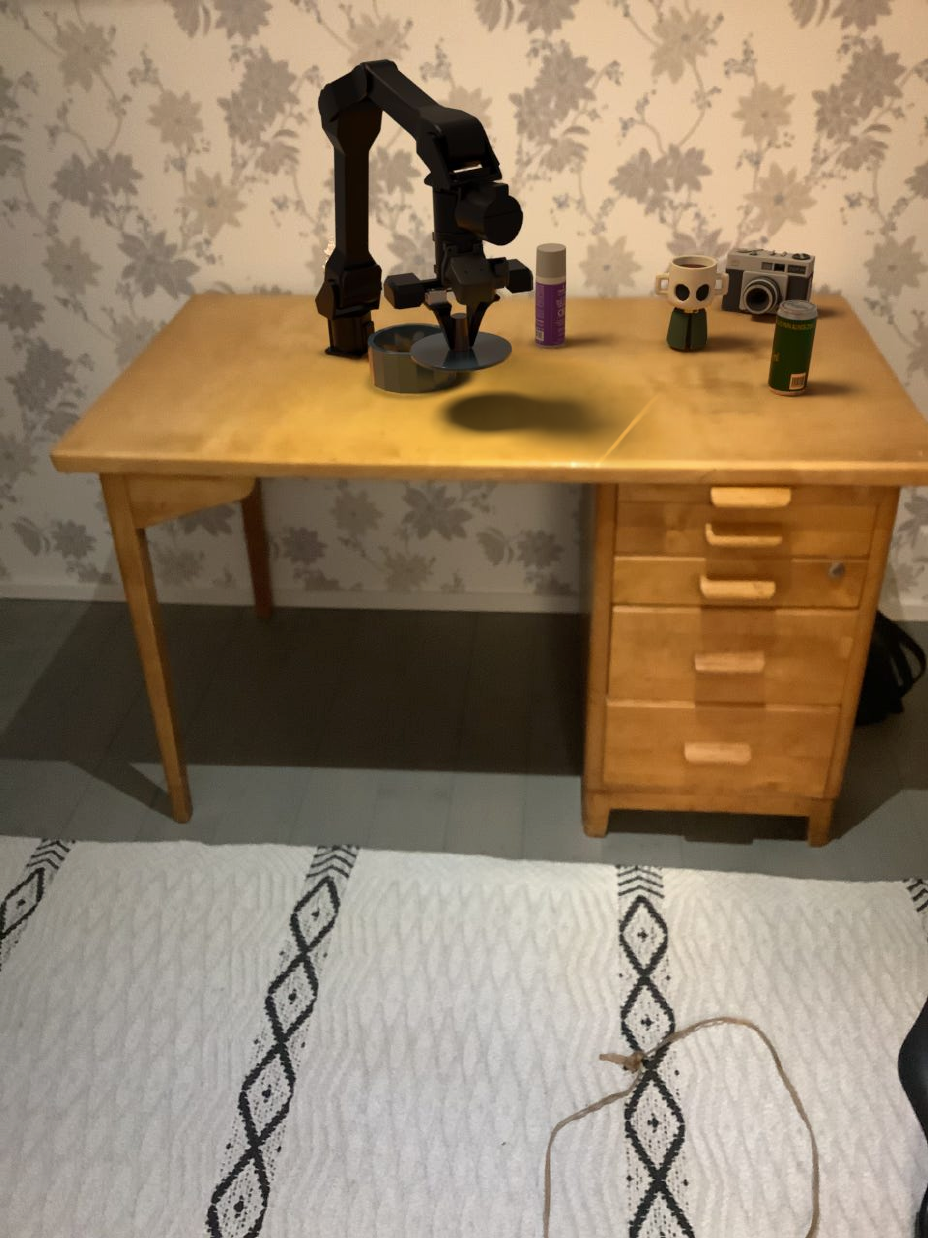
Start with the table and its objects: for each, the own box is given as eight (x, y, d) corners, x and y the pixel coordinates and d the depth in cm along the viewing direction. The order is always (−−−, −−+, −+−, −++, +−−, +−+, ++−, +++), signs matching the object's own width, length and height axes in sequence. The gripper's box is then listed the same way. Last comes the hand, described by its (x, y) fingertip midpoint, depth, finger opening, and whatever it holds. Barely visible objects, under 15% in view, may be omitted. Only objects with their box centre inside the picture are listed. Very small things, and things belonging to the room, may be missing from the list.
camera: (708, 314, 180) (716, 252, 175) (731, 300, 186) (739, 240, 181) (789, 329, 173) (800, 265, 168) (810, 314, 180) (820, 252, 174)
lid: (392, 367, 143) (389, 325, 140) (439, 332, 153) (437, 293, 150) (485, 382, 138) (484, 340, 135) (528, 345, 148) (528, 305, 145)
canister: (355, 389, 160) (351, 347, 156) (397, 359, 169) (395, 318, 165) (431, 402, 155) (429, 359, 151) (470, 370, 164) (469, 329, 160)
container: (562, 349, 170) (564, 252, 161) (533, 348, 171) (533, 251, 162) (566, 338, 173) (568, 242, 165) (537, 337, 174) (538, 242, 166)
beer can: (814, 391, 153) (827, 307, 147) (783, 399, 152) (795, 315, 145) (789, 378, 157) (801, 296, 151) (759, 386, 156) (769, 303, 149)
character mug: (651, 353, 167) (657, 268, 160) (650, 337, 173) (655, 254, 166) (723, 354, 166) (733, 268, 159) (720, 337, 172) (728, 254, 164)
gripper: (402, 254, 128) (410, 380, 137) (550, 235, 132) (548, 358, 141) (378, 229, 136) (387, 349, 145) (517, 212, 141) (518, 330, 150)
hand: (460, 347), depth 145 cm, fingers closed on lid, 2 cm apart
